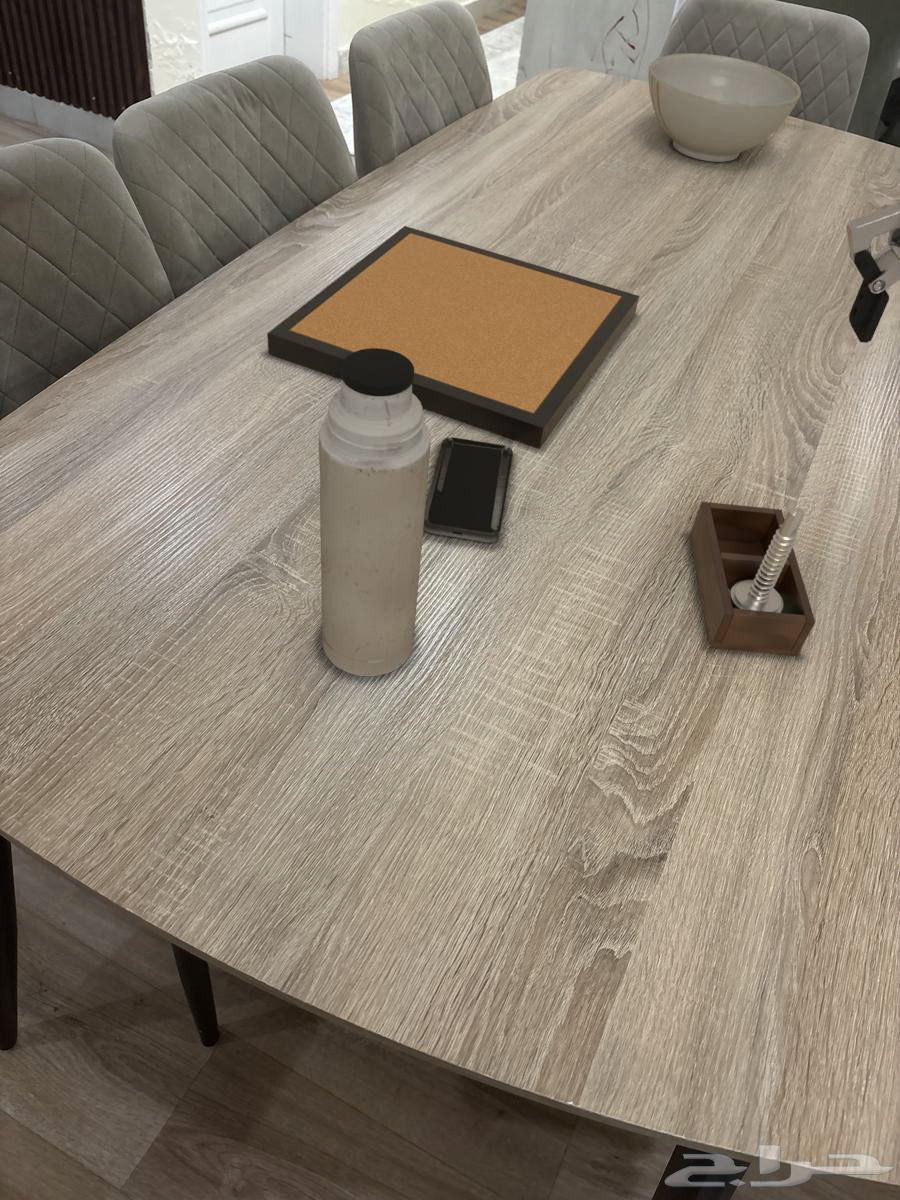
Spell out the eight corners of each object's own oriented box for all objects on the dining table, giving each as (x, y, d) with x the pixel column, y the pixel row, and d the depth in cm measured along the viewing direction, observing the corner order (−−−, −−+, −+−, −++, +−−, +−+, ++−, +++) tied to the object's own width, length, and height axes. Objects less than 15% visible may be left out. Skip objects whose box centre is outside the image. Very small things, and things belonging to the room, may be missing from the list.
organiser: (766, 543, 97) (781, 509, 93) (797, 656, 86) (815, 622, 83) (689, 535, 96) (701, 501, 93) (710, 647, 86) (725, 613, 82)
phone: (513, 446, 102) (499, 536, 92) (512, 455, 103) (497, 545, 93) (442, 435, 103) (420, 523, 92) (441, 444, 104) (419, 532, 93)
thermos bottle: (319, 611, 85) (312, 333, 65) (406, 606, 86) (427, 331, 66) (326, 680, 79) (321, 400, 59) (419, 673, 81) (446, 396, 61)
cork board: (403, 244, 136) (268, 354, 113) (404, 225, 134) (267, 332, 111) (634, 315, 128) (539, 449, 105) (639, 295, 126) (543, 428, 103)
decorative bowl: (604, 138, 173) (618, 66, 165) (691, 112, 187) (708, 45, 179) (722, 190, 161) (744, 115, 152) (806, 159, 175) (830, 89, 166)
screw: (781, 608, 89) (767, 640, 86) (732, 588, 90) (717, 619, 87) (833, 503, 80) (819, 534, 77) (778, 482, 81) (762, 512, 78)
